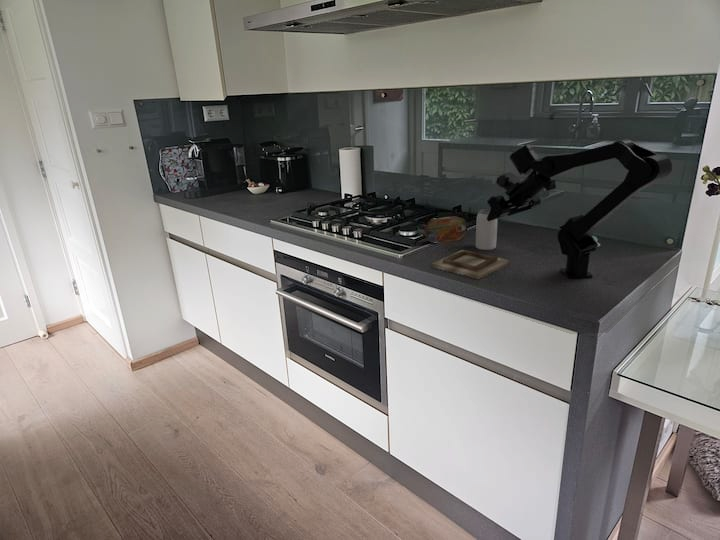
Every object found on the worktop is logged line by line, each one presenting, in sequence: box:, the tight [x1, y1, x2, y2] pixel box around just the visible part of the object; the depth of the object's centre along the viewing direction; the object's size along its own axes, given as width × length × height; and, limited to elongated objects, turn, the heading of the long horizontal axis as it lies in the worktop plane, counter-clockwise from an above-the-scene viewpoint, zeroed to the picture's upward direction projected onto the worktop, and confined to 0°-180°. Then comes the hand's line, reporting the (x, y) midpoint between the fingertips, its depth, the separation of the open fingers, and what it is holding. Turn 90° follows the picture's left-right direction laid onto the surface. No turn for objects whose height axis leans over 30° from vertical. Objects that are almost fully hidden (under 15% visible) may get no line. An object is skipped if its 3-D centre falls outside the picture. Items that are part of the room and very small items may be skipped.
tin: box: [424, 215, 468, 244], centre depth 166 cm, size 15×3×8 cm, turn 105°
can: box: [475, 209, 498, 251], centre depth 157 cm, size 6×6×12 cm
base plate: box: [431, 249, 509, 280], centre depth 144 cm, size 16×16×2 cm
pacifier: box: [592, 235, 601, 248], centre depth 156 cm, size 7×6×6 cm
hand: (497, 217), depth 152 cm, fingers open, 9 cm apart
